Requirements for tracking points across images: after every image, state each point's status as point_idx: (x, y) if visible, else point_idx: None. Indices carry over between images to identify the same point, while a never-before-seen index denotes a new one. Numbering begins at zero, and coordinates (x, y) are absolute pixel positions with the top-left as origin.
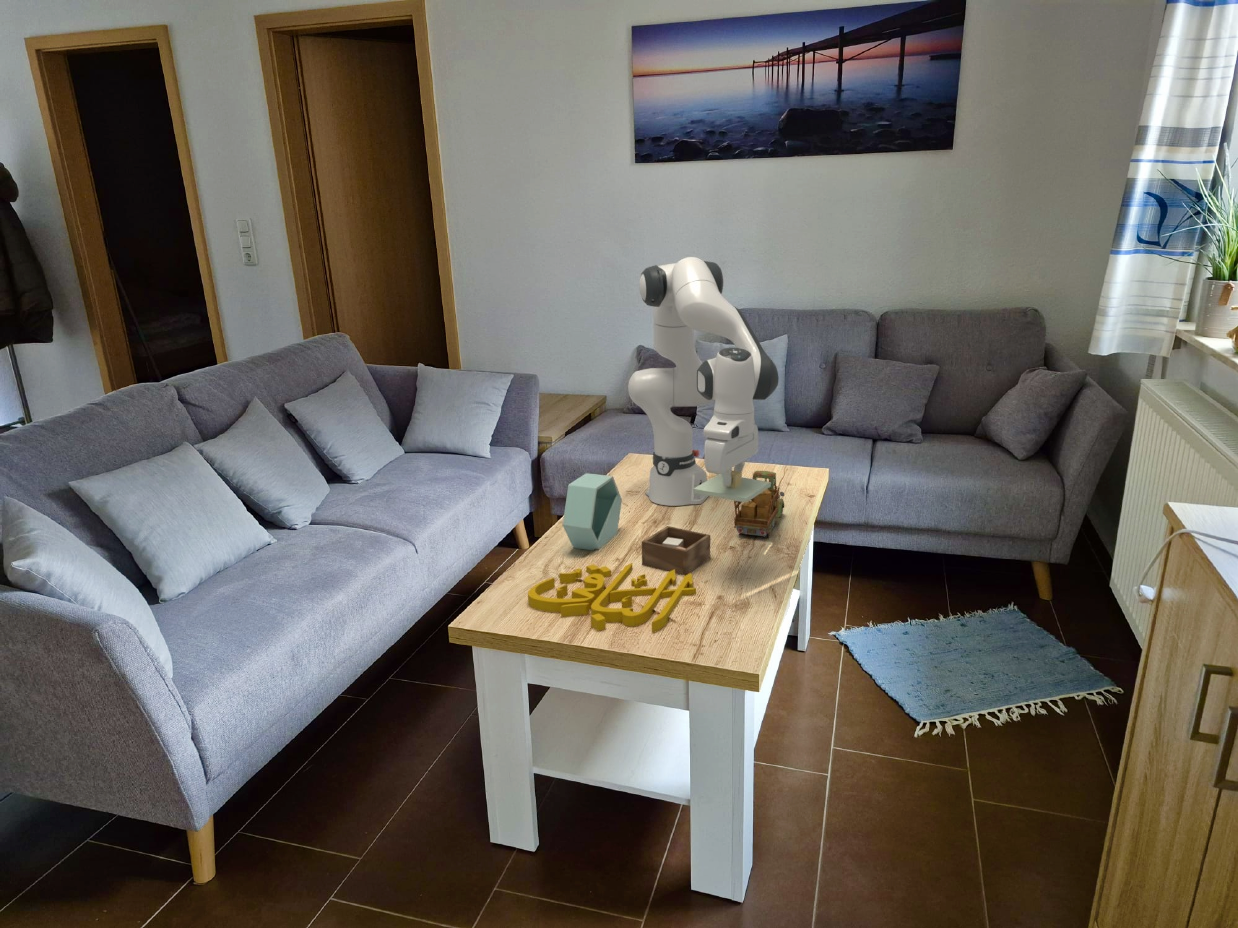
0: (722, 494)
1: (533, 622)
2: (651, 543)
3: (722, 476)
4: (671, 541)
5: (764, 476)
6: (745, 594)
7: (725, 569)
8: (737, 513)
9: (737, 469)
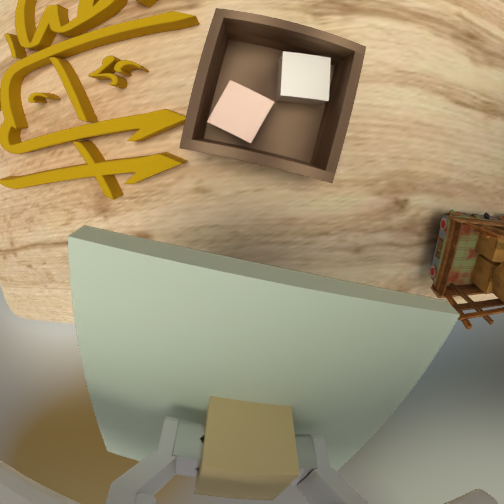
0: (91, 394)
1: (2, 22)
2: (210, 35)
3: (145, 458)
4: (303, 72)
5: None
6: None
7: (281, 215)
8: (480, 222)
9: (313, 489)
